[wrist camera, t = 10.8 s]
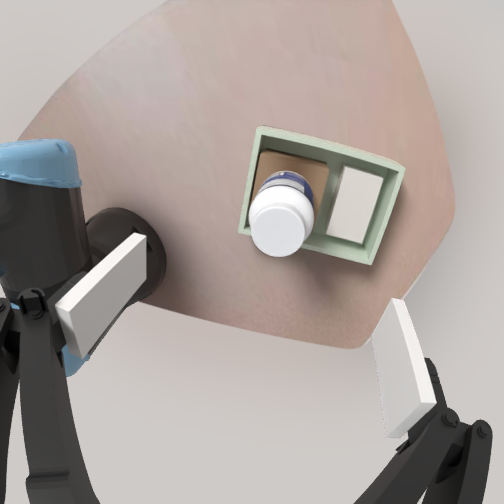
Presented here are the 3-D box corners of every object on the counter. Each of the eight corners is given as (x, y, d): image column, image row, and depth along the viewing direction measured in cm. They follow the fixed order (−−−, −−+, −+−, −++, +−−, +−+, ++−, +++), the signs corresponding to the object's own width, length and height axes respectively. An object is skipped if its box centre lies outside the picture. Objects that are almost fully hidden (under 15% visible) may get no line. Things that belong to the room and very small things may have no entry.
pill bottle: (306, 225, 31) (304, 273, 23) (256, 213, 32) (236, 257, 23) (318, 176, 29) (323, 208, 20) (265, 164, 29) (247, 190, 21)
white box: (324, 224, 36) (326, 234, 34) (342, 162, 32) (345, 167, 30) (358, 233, 36) (361, 243, 33) (377, 172, 32) (383, 178, 29)
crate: (245, 218, 38) (237, 232, 34) (262, 125, 33) (256, 127, 29) (365, 248, 37) (371, 265, 33) (394, 160, 31) (405, 168, 28)
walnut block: (255, 203, 37) (248, 217, 32) (266, 147, 33) (260, 154, 29) (311, 217, 36) (312, 233, 32) (326, 162, 33) (329, 170, 28)
